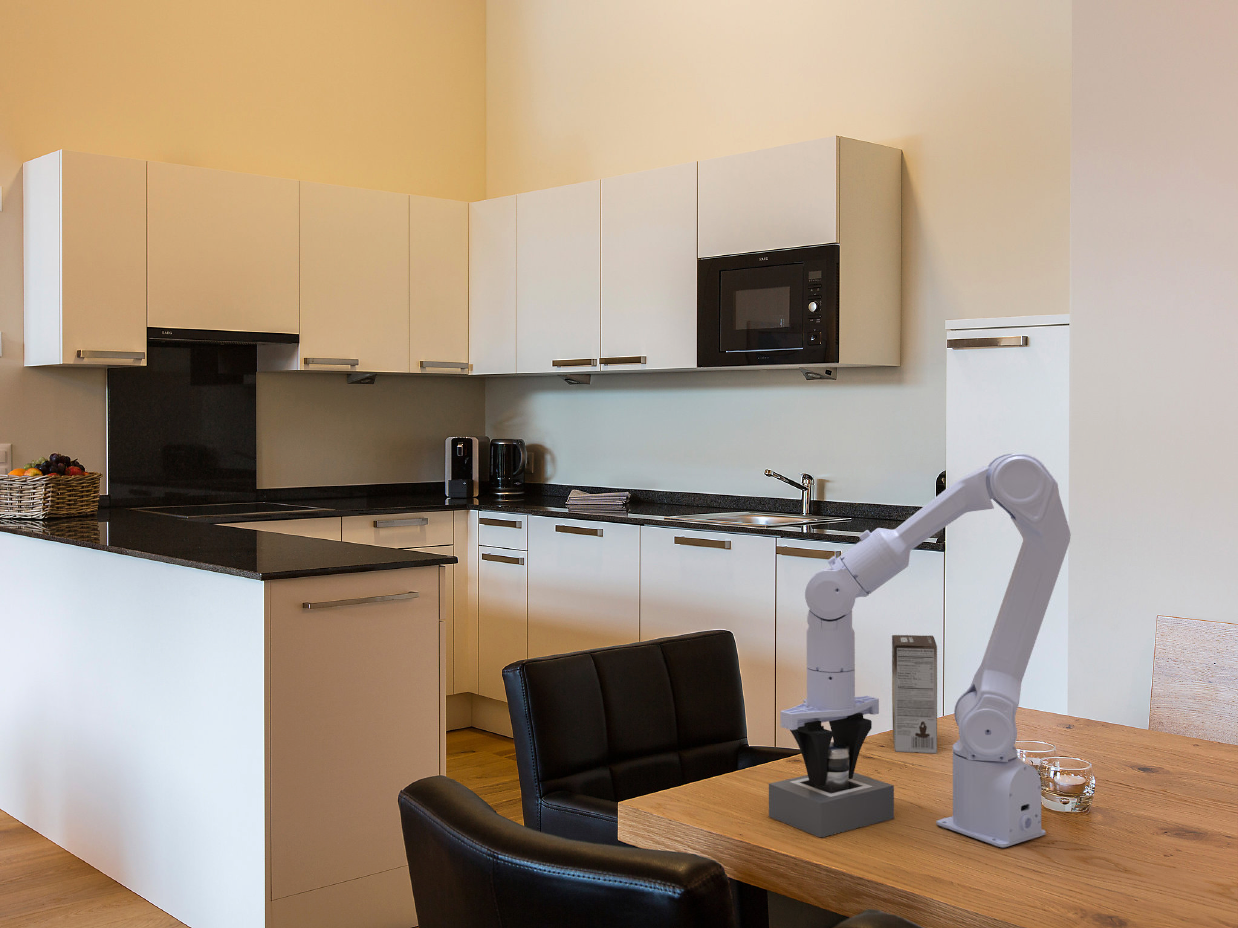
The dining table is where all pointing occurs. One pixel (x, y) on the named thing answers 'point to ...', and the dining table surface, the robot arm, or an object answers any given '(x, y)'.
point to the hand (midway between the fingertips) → (831, 780)
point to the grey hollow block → (831, 805)
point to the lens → (837, 769)
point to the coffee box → (914, 693)
